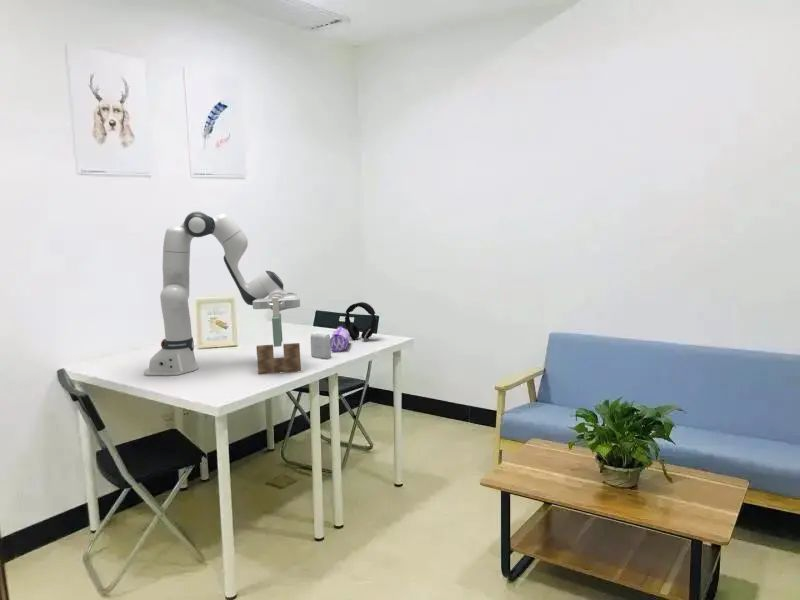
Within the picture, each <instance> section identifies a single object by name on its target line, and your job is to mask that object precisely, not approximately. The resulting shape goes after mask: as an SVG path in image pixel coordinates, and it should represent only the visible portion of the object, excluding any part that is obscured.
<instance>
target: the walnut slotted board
mask: <svg viewBox="0 0 800 600" xmlns="http://www.w3.org/2000/svg"><path fill="white" fill-rule="evenodd" d="M282 347H283V357H274V356H275V355H274V344H261V345H258V344H257V345H256V359H257V360H256V362H257V363H256V364H257V374H258V375H266V374H268V373H269V374H281V373H280V372H285V373H297V372H298V371H301V372H302V365H301V364H302V363H301V348H300V343H299V342H296V343H295V342H294V343H293V342H292V343H283V346H282ZM298 373H299V372H298ZM269 374H268V375H269Z"/></svg>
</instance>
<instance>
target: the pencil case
mask: <svg viewBox="0 0 800 600" xmlns="http://www.w3.org/2000/svg"><path fill="white" fill-rule="evenodd" d="M350 339H351V337H350V334H349V332H348V331H347V328H345V327H343V325H341V326H340V325H339V326H337V328H336V329H335V330H334V331H333V334H331V336H330V344H331V351H333V352H337V353H340V352H343V351H344V350H345V349H346V348H347V347H348V344H349V343H350Z"/></svg>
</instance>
